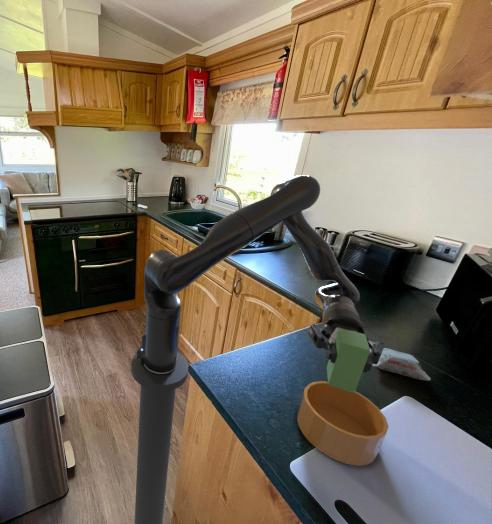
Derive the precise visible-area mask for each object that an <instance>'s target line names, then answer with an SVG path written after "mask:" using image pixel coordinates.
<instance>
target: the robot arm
mask: <svg viewBox="0 0 492 524" xmlns="http://www.w3.org/2000/svg"><path fill="white" fill-rule="evenodd" d="M320 185H321V184H320V183H319V181H318V180H317V179H316V178H315V177H314V176H312V175H311V176H310V175H308V174H307V175H306V174H302V175H301V174H300V175H296V176H293V177H290V178H288V179H287V180H283V181H281V182H279V183H278V184H276V185H275V186H274V187H272V190H271V191H270V195H269V196H267V197H264V198H263V199H260V200H258V201H255V202H253V203H250V204H248V205H245V206H243V207H241V208H239V209H237V210H235V211H233V212H231V213H229V214H228V215H226V216H224V217H223V218H221V219H220V220H218V221H217V222H215V224H213V225H212V227H211V228H210V229H209V231H208V232H207V234H206V235H205V237H204V239H203V240H202V241H201V242H200V243H199V244H198V245H197V246H196V247H194V248H193V249H191V250H189V251H188V252H186V253H183V254H182V255H179V256H178V255H176V254H175V253H173V252H171V250H166V249H159V250H156V251H154V252H152V253H151V254H150V255H149V256H148V258H147V260H146V261H145V265H144V273H143V274H144V275H143V297H144V301H145V307H146V308H145V329H144V333H143V334H142V336H141V344H140V346H139V347H138V348H137V350H136V353H137V358H139V359H141V365H143V366H144V367H145V369H146V370H147V371H149V372H150V373H152V374H155V375H167V374H170V373H172V372H173V371H174V370H175V369H176V362H177V356H178V354H177V352H178V349H179V339H180V338H179V337H180V327H181V318H182V302H181V299H180V297H179V295H178V293H180V292H182V291H183V290H185V289H187V288H188V287H189V286H190V285H191V284H193V283H194V282H195V281H197V280H198V279H199V278H200V277H202V276H203V275H204V274H206V273H207V272H208V271H209V270H211V269H212V268H214V267H215V266H217V265H218V264H220V263H221V262H223V261H224V260H225V259H227V258H228V257H231V256H232V255H233V254H235V253H237V252H239V251H241V250H242V249H243V248H245V247H247V246H248V245H250V244H251V243H253V242H255V241H256V240H257V239H259V238H260V237H262V236H263V235H265V234H266V233H268V232H269V231H271V230H272V229H273V228H275V227H276V226H277V225H278V224H280V223H283V224H284V226H285V227H286V229H287V230H288V232H289V233H290V235H291V236H292V238H293V239H294V241H295V243H296V244H297V246H298V248H299V250H300V251H301V254H302V256H303V258H304V261H305V262H306V264H307V267H308V269H309V272H310V274H311V276H312V278H313V279H314V280H316V281H318V282H319V281H320V282H321V281H322V282H323V281H333V282H335V283H330V284H328V285H327V284H326V285H323V286H320V287H318V288H317V289H316V290H315V292H314V300H315V302H316V304H317V305H318V307H319V308H320V309H321V310H322V319H321V321H322V326H323V327H319V326H318V325H317V324H315V323H311V324H310V326H309V330H308V336H309V337H310V339H311V340H312V343H313V344H314V346H315V348H317V349H319V350H321V349H324V350H325V352H326V354H325V355H326V359H328V360H329V359H330V362H332V363H335V361H336V358H337V348H336V345H335V343H336V340H335V339H336V336H337V333H338V330H339V328H341V329H345V330H349V331H353V332H357V333H361V334H365V330H364V326H363V323H362V320H361V317H360V314H359V313H358V311H357V309H356V305H358V304H359V302H360V299H361V294H360V292H359V290H358V288H357V287H356V286H355V284H354V283H353V282H352V281H351V280H350V279H349V278H348V277H347V275H345V273H344V272H343V270H342V268H341V267H340V265H339V262H338V260H337V258H336V256H335V253H334V251H333V249H332V247H331V246H330V244H329V243H328V242H327V240H326V239H325V238H324V237H322V235H321V234H320V233H318V231H316V230H315V229H314V228H313V227H312V225H310V223H309V222H308V221H307V219H306V218H305V216H304V213H303V211H305V210H307V209H309V208H311V207H312V206H313V205H315V203H316V202H317V201H318V199H319V197H320V194H321V186H320ZM366 339H367V342H368V345H369V348H370V349H371V352H370V353H369V356H368V358H367V361H366V364H365V366H364V369H363V372H362V373H365V374H367V373H368V372H371V370H372V367H373V366H372V365H373V364H376V365H377V364H378V361H379V359H380V356H381V354H382V351H383V348H385V345H386V342H384V341H382V340H377V342H376V341H372V340H369V338H368V336H366Z"/></svg>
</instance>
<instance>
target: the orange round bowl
mask: <svg viewBox="0 0 492 524" xmlns="http://www.w3.org/2000/svg"><path fill="white" fill-rule="evenodd" d="M296 420H297V425H298V427H299V430H300V431H301V433H302V435H303V436H304V437H305V439H306V440H307V441H308V442H309V443H310V444H311V445H312V446H313V447H315V448H316V449H317V450H318V451H320V452H321V453H323V455H326V456H327V457H329V458H331V459H333V460H335V461H336V462H340V463H342V464H346V465H349V466H357V467H358V466H359V467H361V466H367V465H370V464H371V463H372V462H374V460H375V459H377V456H378V454H379V451H380V450H381V446H382V445H383V442H384V440H385V438H386V436H387V433H388V429H389V424H388V421H387V418H386V416H385V415H384V413H383V412H382V410H381V409H380V408H379V407H378V406H377V405H376V404H375V403H374V402H373V401H372V400H370V399H369V398H367V397H366V396H365V395H363V394H362V393H360V392H358V391H355V393H351V392H348V391H345V390H342V389H339V388H336V387H333V386H330V385H328V381H325V380H320V381H313V382H311V383H309V384H307V385H306V387H305V388H304V390H303V393H302V397H301V400H300V403H299V407H298V411H297V416H296Z"/></svg>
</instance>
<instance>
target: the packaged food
mask: <svg viewBox="0 0 492 524" xmlns="http://www.w3.org/2000/svg"><path fill="white" fill-rule="evenodd" d="M370 352H371V349H370ZM372 367H374V368H378V369H379V370H381V371H386V372H390V373H394V374H397V375H400V376H403V377H407V378H411V379H415V380H421V381H426V382H430V381H431V380H432V378H431V377H430V376H429V375H428V374H427V373H426V371H424V370H423V368H422V366H421V363H420V362H419V360H418V359H417V358H416V357H414V355H412V354H409V353H405V352H402V351H397V350H395V349H391V348H387V347H384V348H383V351H382V354H381V356H380V359H379V361H378V364H377V365H376V364H373V365H372Z"/></svg>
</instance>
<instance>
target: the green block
mask: <svg viewBox="0 0 492 524" xmlns="http://www.w3.org/2000/svg"><path fill="white" fill-rule="evenodd" d="M366 337H367V335H366V334H365V333H364V334H361V333H357V332H353V331H349V330H345V329H341V328H339V330H338V333H337V336H336V339H335V340H336V343H335V345H336V348H337V358H336V361H335V363H332V362H330V359H328V362H327V365H326V374H327V375H326V376H327V382H328V385H330V386H333V387H336V388H339V389H342V390H345V391H348V392H351V393H355V391H356V390H357V387H358V385H359V382H360V380H361V378H362V374H363V373H364V372H363V369H364V366H365V364H366V361H367V358H368V356H369V353H370V347H369V345H368V342H367V339H366ZM356 392H357V391H356Z"/></svg>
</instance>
